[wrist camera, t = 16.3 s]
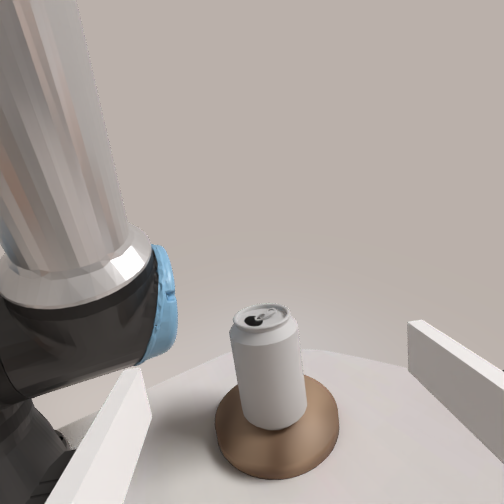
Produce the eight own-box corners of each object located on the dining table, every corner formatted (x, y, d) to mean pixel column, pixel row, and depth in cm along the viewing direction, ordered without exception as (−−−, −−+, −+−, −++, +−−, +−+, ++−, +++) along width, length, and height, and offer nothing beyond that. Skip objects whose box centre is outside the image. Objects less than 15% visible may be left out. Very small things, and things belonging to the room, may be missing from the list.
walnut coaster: (213, 492, 26) (210, 479, 25) (219, 390, 39) (217, 381, 39) (362, 463, 26) (361, 450, 26) (317, 373, 40) (316, 364, 40)
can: (235, 401, 35) (219, 310, 32) (288, 380, 37) (277, 294, 35) (257, 448, 28) (238, 337, 25) (321, 419, 30) (310, 315, 28)
